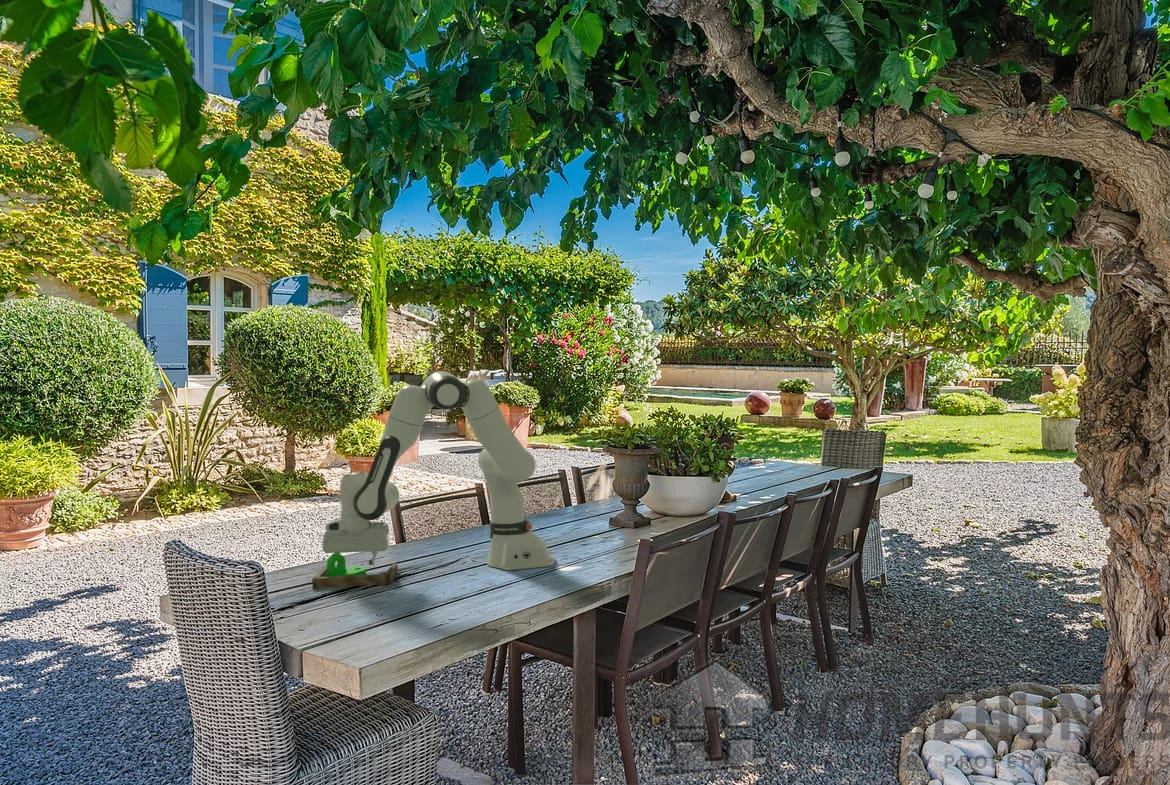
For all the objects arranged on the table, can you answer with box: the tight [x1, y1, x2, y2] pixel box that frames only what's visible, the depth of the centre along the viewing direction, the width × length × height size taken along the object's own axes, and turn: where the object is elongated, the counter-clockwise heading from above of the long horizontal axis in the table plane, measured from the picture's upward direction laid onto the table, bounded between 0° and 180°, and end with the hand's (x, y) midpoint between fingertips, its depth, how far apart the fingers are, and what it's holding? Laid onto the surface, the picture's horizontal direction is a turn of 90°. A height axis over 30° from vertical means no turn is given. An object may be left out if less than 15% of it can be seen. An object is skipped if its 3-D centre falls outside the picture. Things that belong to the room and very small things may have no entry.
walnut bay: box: [311, 562, 399, 589], centre depth 235 cm, size 23×14×3 cm, turn 95°
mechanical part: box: [326, 553, 367, 577], centre depth 239 cm, size 12×6×8 cm, turn 149°
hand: (356, 565), depth 241 cm, fingers open, 8 cm apart
